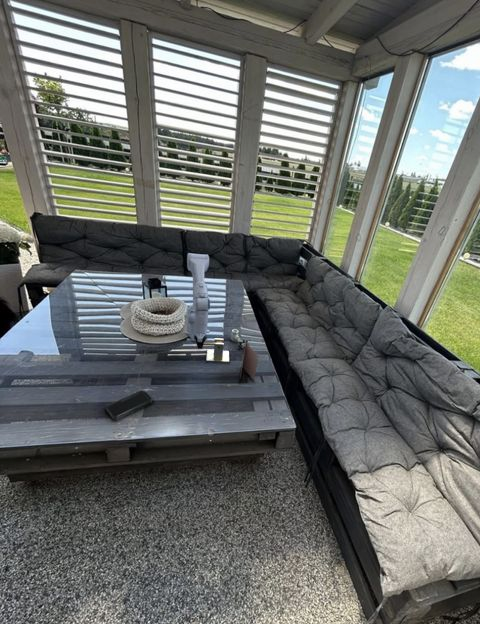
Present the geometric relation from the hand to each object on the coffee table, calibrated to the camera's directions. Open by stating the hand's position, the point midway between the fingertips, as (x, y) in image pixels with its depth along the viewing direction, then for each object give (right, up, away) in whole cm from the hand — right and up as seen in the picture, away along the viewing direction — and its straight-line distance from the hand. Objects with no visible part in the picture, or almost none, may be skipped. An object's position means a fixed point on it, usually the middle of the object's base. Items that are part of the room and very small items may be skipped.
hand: (200, 346), depth 140 cm
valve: (+16, +1, +18) cm, 24 cm away
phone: (-20, -23, -29) cm, 43 cm away
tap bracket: (+8, -6, +5) cm, 11 cm away
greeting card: (+23, -14, -3) cm, 27 cm away
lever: (+4, 0, +1) cm, 4 cm away
